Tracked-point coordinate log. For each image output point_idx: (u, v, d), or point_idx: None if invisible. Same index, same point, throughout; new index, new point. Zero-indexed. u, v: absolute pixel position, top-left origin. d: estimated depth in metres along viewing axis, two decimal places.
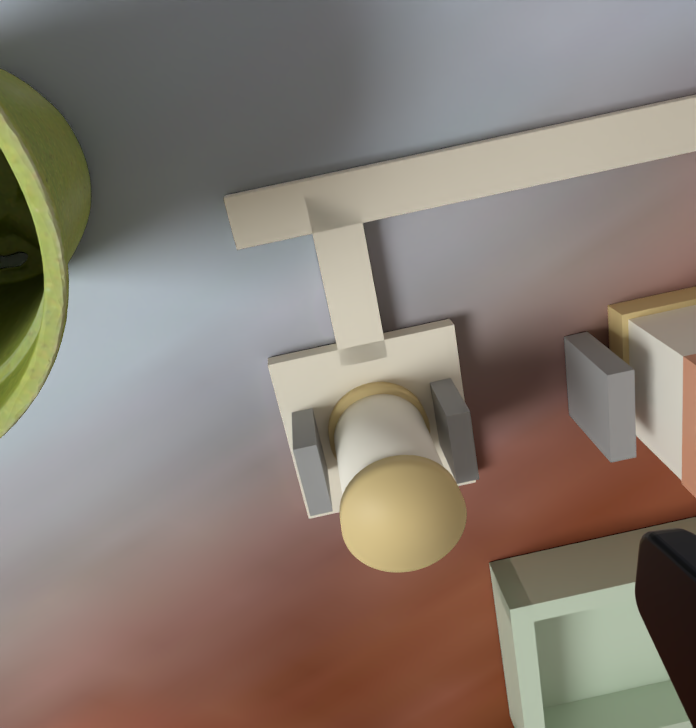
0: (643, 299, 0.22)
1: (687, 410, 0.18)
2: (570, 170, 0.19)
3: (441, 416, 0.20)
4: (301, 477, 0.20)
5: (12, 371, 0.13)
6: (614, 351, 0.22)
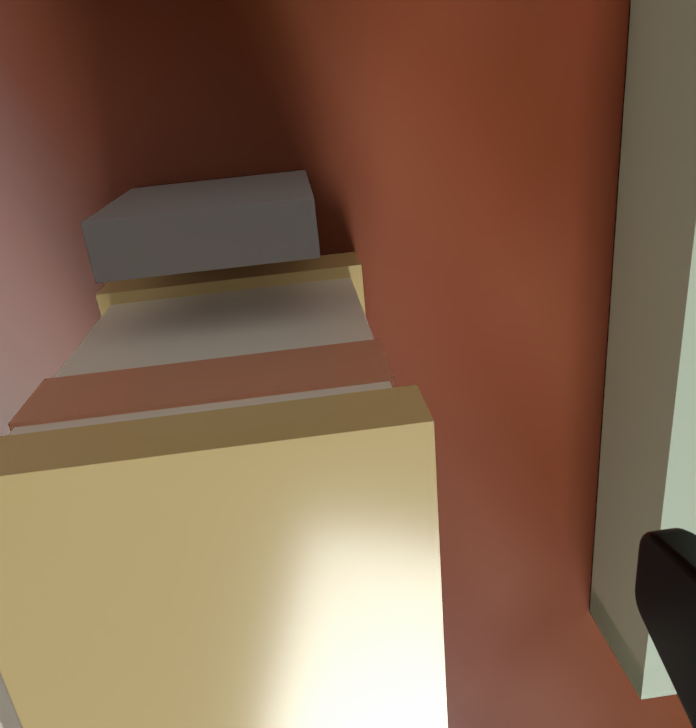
0: None
1: None
2: None
3: None
4: None
5: None
6: None
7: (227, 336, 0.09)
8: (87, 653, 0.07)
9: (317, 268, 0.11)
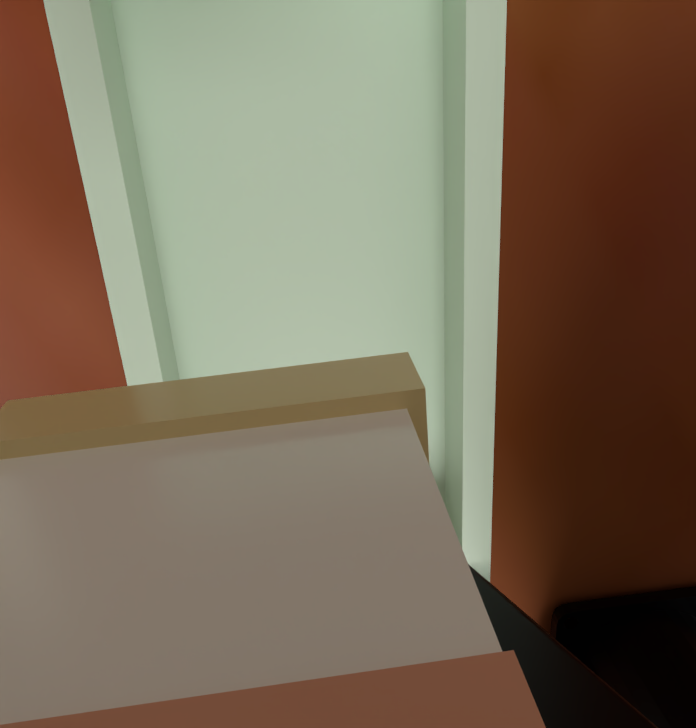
0: None
1: None
2: None
3: None
4: None
5: None
6: None
7: (183, 594, 0.04)
8: None
9: (350, 394, 0.07)
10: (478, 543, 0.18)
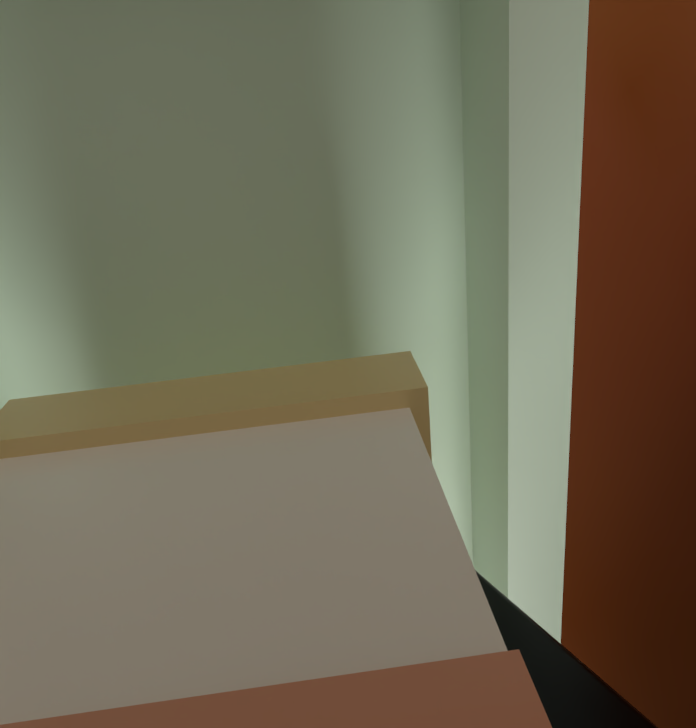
0: None
1: None
2: None
3: None
4: None
5: None
6: None
7: (185, 593, 0.04)
8: None
9: (353, 393, 0.07)
10: None
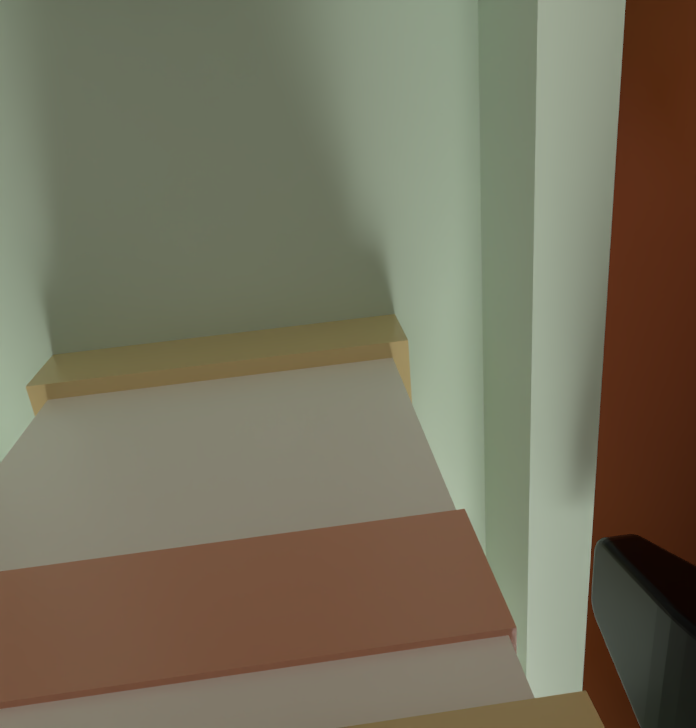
0: None
1: None
2: None
3: None
4: None
5: None
6: None
7: (212, 483, 0.06)
8: None
9: (345, 345, 0.08)
10: None
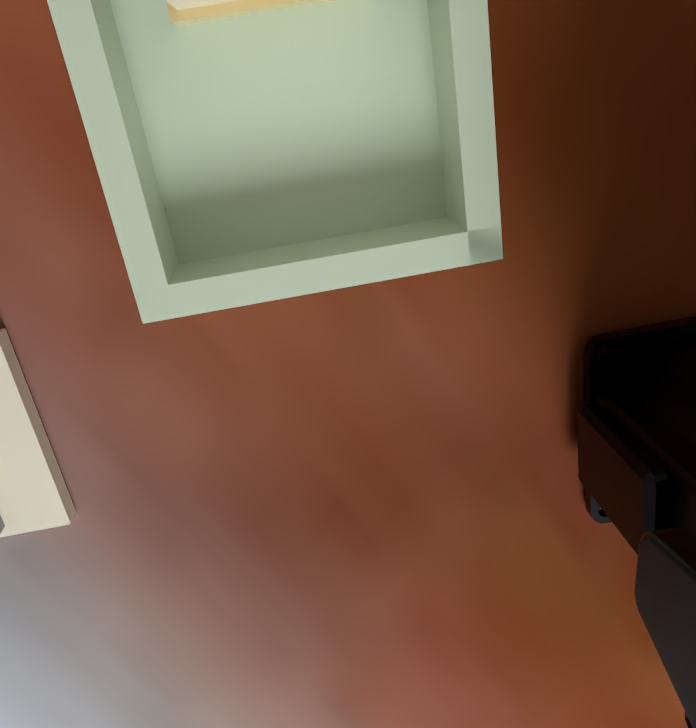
0: None
1: None
2: None
3: None
4: None
5: None
6: (243, 13, 0.14)
7: None
8: None
9: None
10: (484, 200, 0.15)
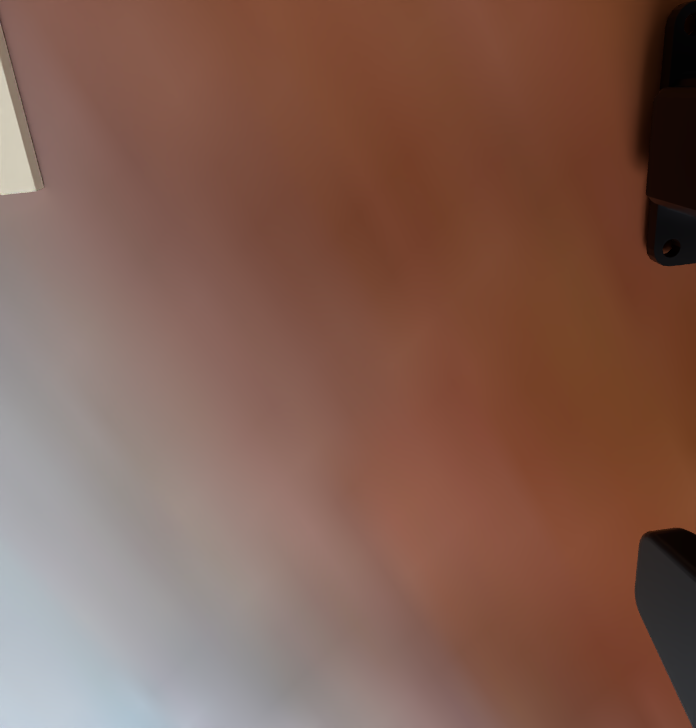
0: None
1: None
2: None
3: None
4: None
5: None
6: None
7: None
8: None
9: None
10: None
